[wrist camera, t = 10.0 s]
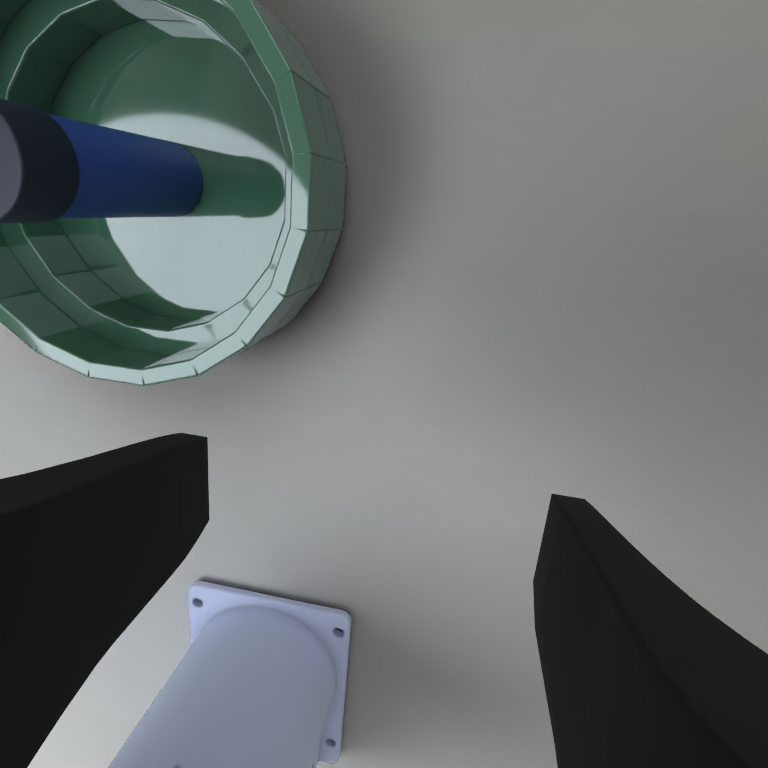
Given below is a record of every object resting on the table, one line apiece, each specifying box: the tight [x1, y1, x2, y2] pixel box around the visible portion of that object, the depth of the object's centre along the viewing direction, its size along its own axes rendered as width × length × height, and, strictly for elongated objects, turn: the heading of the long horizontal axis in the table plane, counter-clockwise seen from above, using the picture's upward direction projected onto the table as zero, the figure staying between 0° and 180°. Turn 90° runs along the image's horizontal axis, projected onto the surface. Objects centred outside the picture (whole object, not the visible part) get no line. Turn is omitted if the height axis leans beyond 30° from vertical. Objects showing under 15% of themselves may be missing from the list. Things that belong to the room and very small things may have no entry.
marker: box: [0, 99, 202, 224], centre depth 16 cm, size 3×3×8 cm
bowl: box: [0, 0, 346, 386], centre depth 18 cm, size 13×13×4 cm
